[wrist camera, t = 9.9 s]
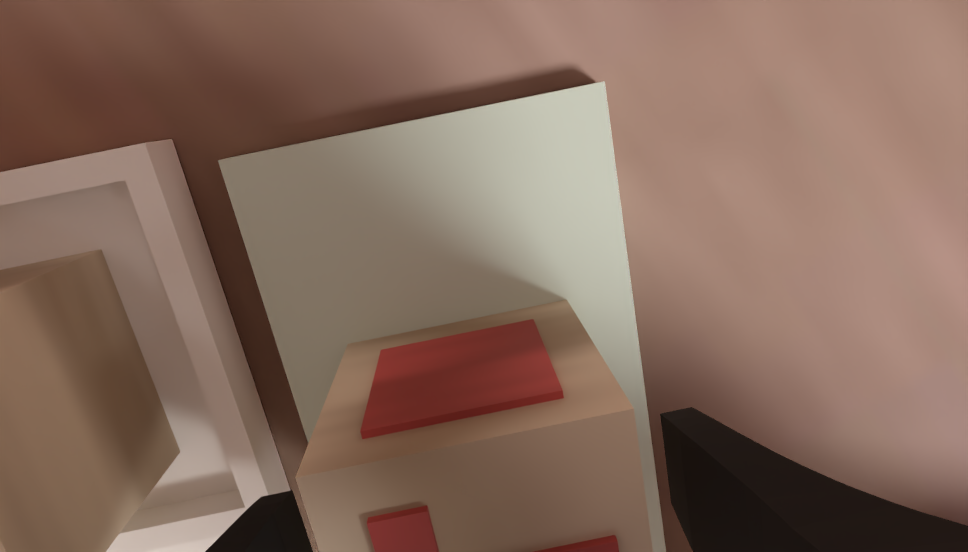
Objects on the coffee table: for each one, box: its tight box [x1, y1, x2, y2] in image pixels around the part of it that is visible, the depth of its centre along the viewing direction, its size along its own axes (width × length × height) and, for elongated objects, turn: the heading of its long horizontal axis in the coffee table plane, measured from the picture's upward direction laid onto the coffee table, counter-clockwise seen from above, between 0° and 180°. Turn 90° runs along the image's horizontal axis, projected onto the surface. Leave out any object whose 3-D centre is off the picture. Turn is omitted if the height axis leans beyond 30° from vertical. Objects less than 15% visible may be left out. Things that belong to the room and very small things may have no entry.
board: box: [218, 81, 666, 552], centre depth 15 cm, size 8×14×1 cm, turn 11°
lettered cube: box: [295, 300, 653, 552], centre depth 12 cm, size 5×5×5 cm
